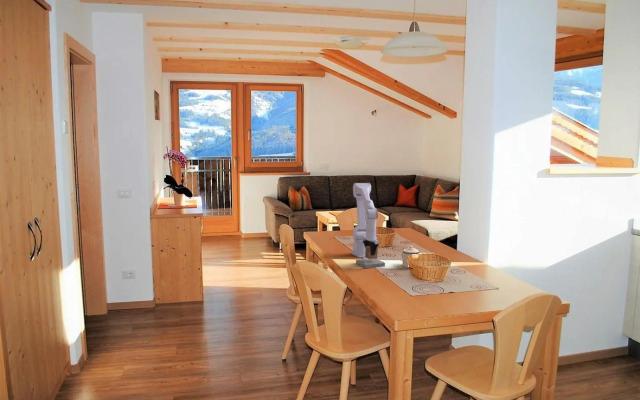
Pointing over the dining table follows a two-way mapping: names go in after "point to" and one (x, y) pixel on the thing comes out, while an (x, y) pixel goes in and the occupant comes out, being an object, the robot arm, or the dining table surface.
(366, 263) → the slate trivet
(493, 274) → the dining table surface
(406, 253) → the teacup with lid
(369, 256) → the walnut block
